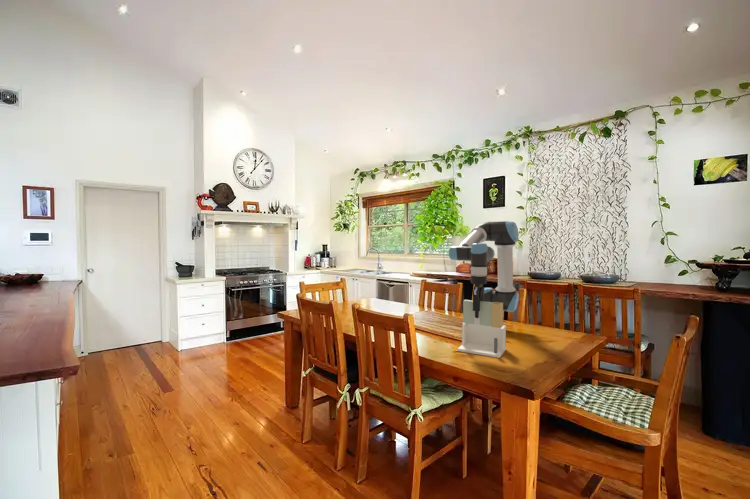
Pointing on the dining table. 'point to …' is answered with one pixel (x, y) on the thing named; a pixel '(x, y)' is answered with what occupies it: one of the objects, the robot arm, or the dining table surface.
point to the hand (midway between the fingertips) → (478, 323)
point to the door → (484, 313)
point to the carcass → (483, 340)
